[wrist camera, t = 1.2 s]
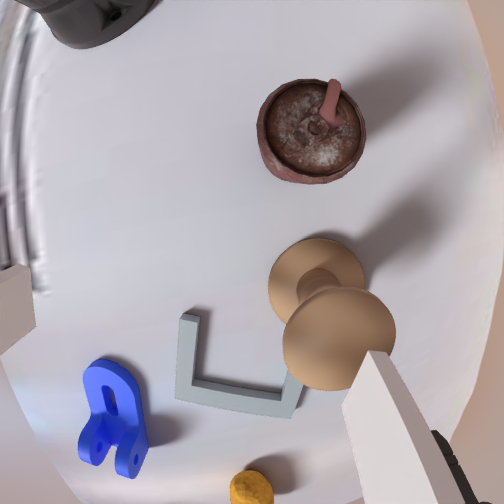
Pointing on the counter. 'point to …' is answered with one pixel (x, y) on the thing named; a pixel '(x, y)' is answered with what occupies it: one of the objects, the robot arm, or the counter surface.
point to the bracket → (113, 419)
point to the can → (310, 132)
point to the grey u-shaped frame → (225, 394)
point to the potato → (250, 489)
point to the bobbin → (327, 314)
